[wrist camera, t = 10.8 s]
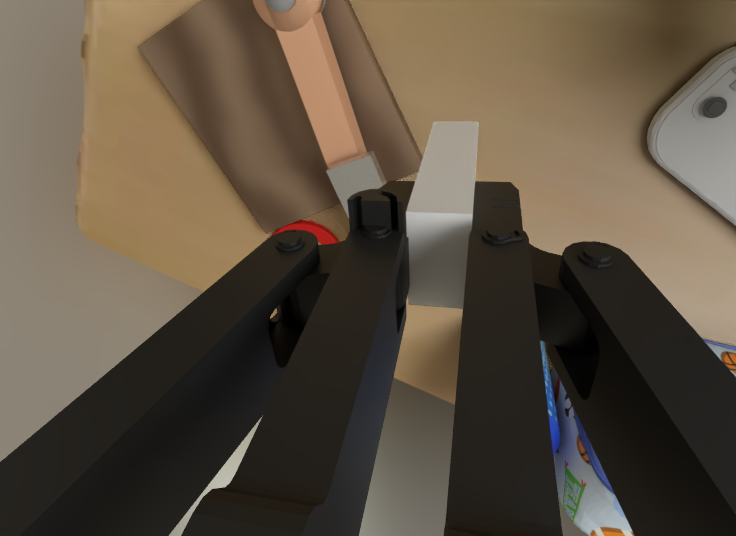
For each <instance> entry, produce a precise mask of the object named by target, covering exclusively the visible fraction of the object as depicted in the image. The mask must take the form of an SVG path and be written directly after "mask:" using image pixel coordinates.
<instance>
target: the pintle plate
mask: <svg viewBox="0 0 736 536" xmlns="http://www.w3.org/2000/svg"><path fill="white" fill-rule="evenodd" d="M321 14H322V17H323V20H324V23H325V26H326V29H327V32H328V35H329V38H330V41H331V44H332V47H333V50H334V53H335V57H336V60H337V63H338V66H339V69H340V72H341V75H342V78H343V81H344V84H345V87H346V90H347V93H348V96H349V99H350V102H351V105H352V108H353V111H354V114H355V118H356V121H357V124H358V127H359V130H360V133H361V136H362V139H363V142H364V145H365V148H366V151H367V152H369V151H372V150H373V151H374V154H375V156H376V158H377V161H378V163H379V166H380V168H381V170H382V173H383V175H384V178H385V180H386V182H389V181H395V180H398V179H400V178H403V177H405V176H408V175H410V174H412V173H415V172H417V171H419V168H420V165H421V161H422V158H423V157H422V155H421V153H420V151H419V149H418V147H417V145H416V142H415V140H414V138H413V136H412V134H411V132H410V130H409V128H408V125H407V123H406V121H405V119H404V117H403V115H402V113H401V110H400V108H399V106H398V104H397V102H396V100H395V98H394V96H393V93H392V91H391V89H390V87H389V85H388V83H387V81H386V78H385V76H384V74H383V72H382V70H381V68H380V66H379V64H378V61H377V59H376V57H375V55H374V53H373V51H372V49H371V47H370V44H369V42H368V40H367V38H366V36H365V34H364V32H363V29H362V27H361V25H360V23H359V21H358V19H357V17H356V15H355V12H354V10H353V8H352V6H351V4H350V2H349V0H324V5H323V8H322V10H321ZM138 48H139V50H140V51H141V53H142V54H143V55H144V57H145V58H146V60H147V61H148V63H149V64H150V66H151V67H152V69H153V70H154V71H155V73H156V74H157V76H158V77H159V79H160V80H161V82H162V83H163V85H164V86H165V88H166V89H167V90H168V92H169V93H170V95H171V96H172V98H173V99H174V101H175V102H176V104H177V105H178V106H179V108H180V109H181V111H182V112H183V114H184V115H185V117H186V118H187V120H188V121H189V123H190V124H191V125H192V127H193V128H194V130H195V131H196V133H197V134H198V136H199V137H200V139H201V140H202V141H203V143H204V144H205V146H206V147H207V149H208V150H209V152H210V153H211V155H212V156H213V157H214V159H215V160H216V162H217V163H218V165H219V166H220V168H221V169H222V171H223V172H224V174H225V175H226V176H227V178H228V179H229V181H230V182H231V184H232V185H233V187H234V188H235V190H236V191H237V192H238V194H239V195H240V197H241V198H242V200H243V201H244V203H245V204H246V206H247V207H248V209H249V210H250V211H251V213H252V214H253V216H254V217H255V219H256V220H257V222H258V223H259V225H260V226H261V227H262V229H263V230H264V232H265V233H266V234H267V233H269V232H271V231H274V230H276V229H279V228H281V227H284V226H286V225H288V224H291V223H293V222H296V221H298V220H301V219H303V218H305V217H308V216H310V215H313V214H315V213H318V212H320V211H322V210H325V209H327V208H330V207H332V206H335V205H337V204H339V203H341V201H340V199H339V197H338V195H337V193H336V191H335V189H334V187H333V185H332V182H331V180H330V178H329V176H328V174H327V172H326V170H327V168H328V167H327V164H326V162H325V159H324V156H323V154H322V151H321V149H320V146H319V143H318V141H317V138H316V135H315V133H314V130H313V127H312V125H311V122H310V119H309V117H308V114H307V111H306V109H305V106H304V104H303V101H302V98H301V96H300V93H299V90H298V88H297V85H296V82H295V80H294V77H293V74H292V72H291V69H290V66H289V64H288V61H287V59H286V56H285V53H284V51H283V48H282V45H281V43H280V40H279V37H278V35H277V32H276V29H274V28H272V27H271V26H269V25H268V24H267V23H265V22H264V20H263V19H262V18H261V17H260V16H259V14H258V12H257V11H256V8H255V6H254V3H253V0H203V1H201V2H200V3H198V4H197V5H196V6H194V7H193V8H191V9H190V10H189V11H187V12H186V13H184V14H183V15H181V16H180V17H179V18H177V19H176V20H174V21H173V22H172V23H170V24H169V25H167V26H166V27H165V28H163V29H162V30H160V31H159V32H158V33H156V34H155V35H153V36H152V37H151V38H149V39H148V40H146V41H145V42H144V43H142V44H141V45H139V46H138Z"/></svg>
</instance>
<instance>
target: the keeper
mask: <svg viewBox="0 0 736 536" xmlns="http://www.w3.org/2000/svg"><path fill="white" fill-rule="evenodd" d="M326 172H327V174H328V176H329V178H330V180H331V182H332V185H333V187H334V189H335V191H336V193H337V195H338V197H339V199H340V201H341V204H342V206H343V208H344V210H345V212H346V214H347V216H348V218H349V213H348V203H347V199H348V198H349V197H350V196H351V195H353V194H355V193H357V192H359V191H364V190H368V189H379V188H380V187H382V186H383V185H385V184H386V183H387V182H386V180H385V178H384V175H383V173H382V170H381V168H380V166H379V163H378V161H377V158H376V156H375V154H374V151H373V150H372V151H369V152H366V153H363V154H361V155H358V156H355V157H352V158H349V159H346V160H343V161H340V162H337V163H335V164H332V165H329V167H328V168H327V170H326Z"/></svg>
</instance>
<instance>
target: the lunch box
mask: <svg viewBox="0 0 736 536" xmlns="http://www.w3.org/2000/svg"><path fill="white" fill-rule="evenodd" d="M704 341H705V343H706V344H707V345H708V346H709V347H710V348H711V349H712V350H713V352H714V353H715V354H716V355H717V356H718V357H719V358H720V360H721V361H722V362H723V363H724V364H725V365H726V366H727V367H728V369H729V370H730V371H731V372H732V373H733V374H734V375H735V376H736V347H733V346H729V345H724V344H720V343H716V342H711V341H707V340H704ZM550 376H551V382H552V388H553V393H554V399H555V405H556V411H557V417H558V423H559V429H560V436H561V440H560V445H559V447H558V450H557V451H556V453H555V454H554V458H555V471H556V483H557V489H558V494H559V497H560V500H561V503H562V505H563V507H564V510H565V511H566V513H567V514H568V516H569V518H570V519H571V520H572V521H573V522H574V523H575V525H576V526H577V527H579V528H580V529H581V530H582V531H583V532H585V533H586V534H588V535H589V536H634V534H633V532H632V529H631V527H630V525H629V523H628V521H627V519H626V517H625V515H624V513H623V511H622V508H621V506H620V504H619V502H618V500H617V498H616V496H615V494H614V492H613V490H612V488H611V485H610V483H609V481H608V479H607V477H606V475H605V473H604V471H603V469H602V467H601V464H600V462H599V460H598V458H597V456H596V454H595V452H594V450H593V448H592V446H591V444H590V441H589V439H588V437H587V435H586V433H585V431H584V429H583V427H582V425H581V423H580V420H579V418H578V416H577V414H576V412H575V410H574V408H573V406H572V404H571V402H570V399H569V397H568V395H567V393H566V391H565V389H564V387H563V385H562V383H561V381H560V379H559V376H558V374H557V372H556V370H555V368H554V366H552V368H551V369H550Z"/></svg>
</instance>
